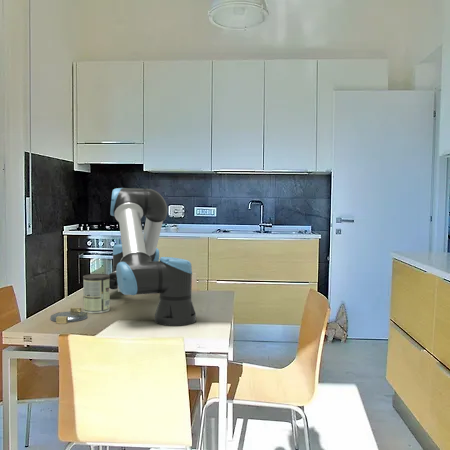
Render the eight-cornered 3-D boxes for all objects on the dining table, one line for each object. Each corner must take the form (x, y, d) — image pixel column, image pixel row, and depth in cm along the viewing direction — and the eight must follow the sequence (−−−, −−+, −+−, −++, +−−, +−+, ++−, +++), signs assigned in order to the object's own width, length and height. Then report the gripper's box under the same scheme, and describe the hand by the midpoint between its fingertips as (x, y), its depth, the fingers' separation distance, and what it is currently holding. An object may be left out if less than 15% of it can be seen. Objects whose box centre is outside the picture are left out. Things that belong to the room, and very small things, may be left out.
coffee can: (84, 308, 191) (84, 273, 190) (110, 307, 192) (110, 273, 192) (81, 313, 180) (81, 277, 180) (108, 313, 182) (108, 277, 182)
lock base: (60, 312, 182) (59, 307, 182) (93, 313, 181) (93, 307, 181) (43, 323, 166) (43, 317, 166) (79, 323, 165) (79, 317, 165)
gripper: (142, 288, 216) (131, 297, 195) (88, 287, 216) (72, 296, 195) (142, 272, 215) (132, 279, 194) (88, 271, 216) (72, 278, 195)
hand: (102, 288), depth 195 cm, fingers open, 13 cm apart
